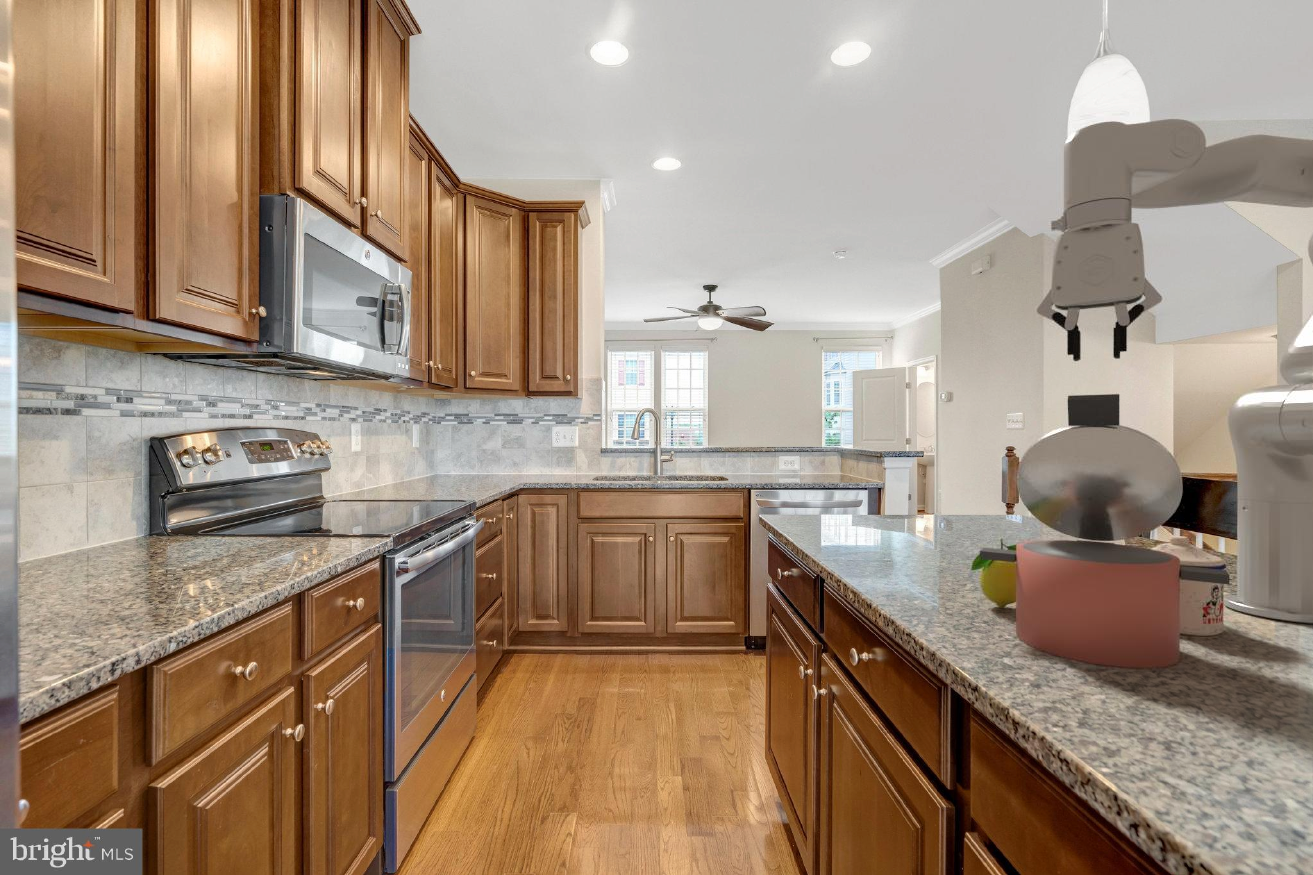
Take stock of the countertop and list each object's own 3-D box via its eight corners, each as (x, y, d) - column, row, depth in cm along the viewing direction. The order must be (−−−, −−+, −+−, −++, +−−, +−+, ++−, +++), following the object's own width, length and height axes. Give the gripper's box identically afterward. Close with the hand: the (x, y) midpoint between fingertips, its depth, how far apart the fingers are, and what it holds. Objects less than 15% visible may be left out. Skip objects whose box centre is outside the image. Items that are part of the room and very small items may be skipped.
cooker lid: (1020, 534, 88) (1022, 525, 89) (1179, 547, 78) (1178, 536, 79) (1010, 401, 79) (1012, 393, 81) (1187, 397, 69) (1186, 387, 71)
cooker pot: (992, 609, 90) (992, 532, 90) (1217, 642, 76) (1217, 550, 76) (970, 641, 77) (970, 550, 76) (1238, 688, 62) (1238, 576, 62)
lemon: (1036, 609, 91) (1036, 539, 91) (1020, 616, 87) (1020, 544, 87) (987, 599, 96) (987, 533, 96) (969, 606, 92) (969, 537, 92)
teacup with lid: (1224, 642, 76) (1224, 545, 76) (1130, 626, 82) (1130, 537, 82) (1228, 620, 85) (1228, 533, 85) (1143, 607, 91) (1143, 526, 91)
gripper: (1022, 227, 87) (1021, 360, 87) (1179, 200, 77) (1178, 351, 77) (1028, 240, 93) (1028, 365, 93) (1174, 217, 83) (1174, 357, 83)
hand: (1096, 357), depth 85 cm, fingers open, 3 cm apart
